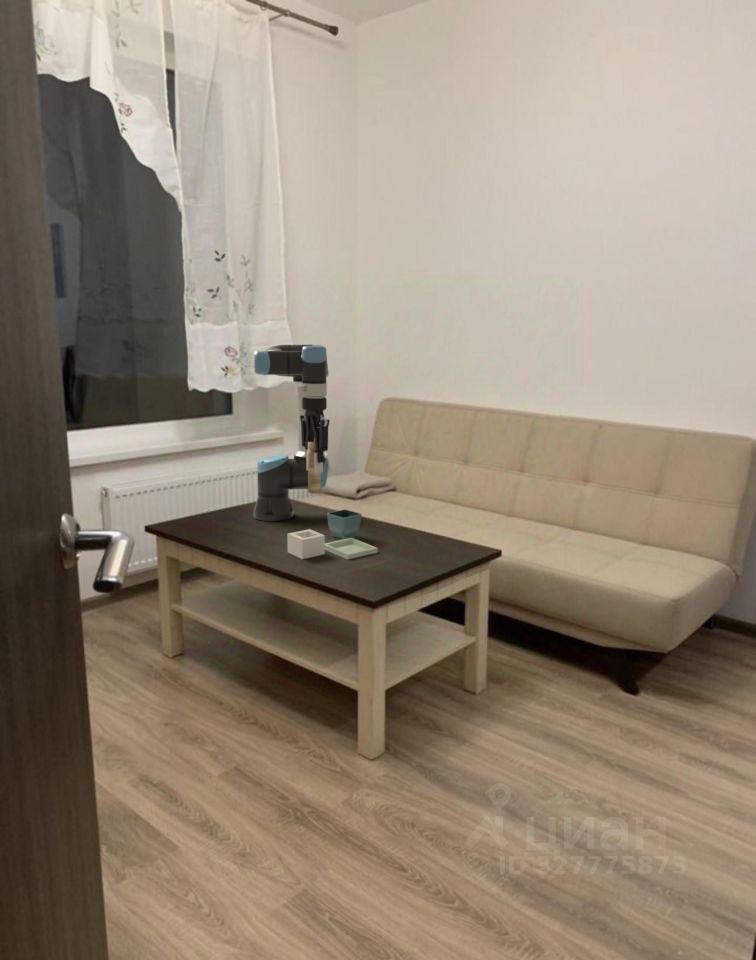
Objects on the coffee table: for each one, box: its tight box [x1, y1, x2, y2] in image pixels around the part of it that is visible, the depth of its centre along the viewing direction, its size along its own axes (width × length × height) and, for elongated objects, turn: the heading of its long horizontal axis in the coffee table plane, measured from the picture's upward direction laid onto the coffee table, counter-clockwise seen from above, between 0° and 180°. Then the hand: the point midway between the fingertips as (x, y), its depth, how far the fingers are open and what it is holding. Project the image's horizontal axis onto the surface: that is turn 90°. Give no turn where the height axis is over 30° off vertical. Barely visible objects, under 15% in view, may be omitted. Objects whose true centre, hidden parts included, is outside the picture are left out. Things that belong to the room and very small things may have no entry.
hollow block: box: [286, 528, 326, 560], centre depth 242 cm, size 9×9×7 cm
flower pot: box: [326, 509, 363, 540], centre depth 260 cm, size 9×9×9 cm
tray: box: [325, 537, 378, 560], centre depth 245 cm, size 14×12×2 cm
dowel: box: [307, 441, 322, 495], centre depth 237 cm, size 4×4×16 cm
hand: (314, 470), depth 237 cm, fingers closed on dowel, 4 cm apart
